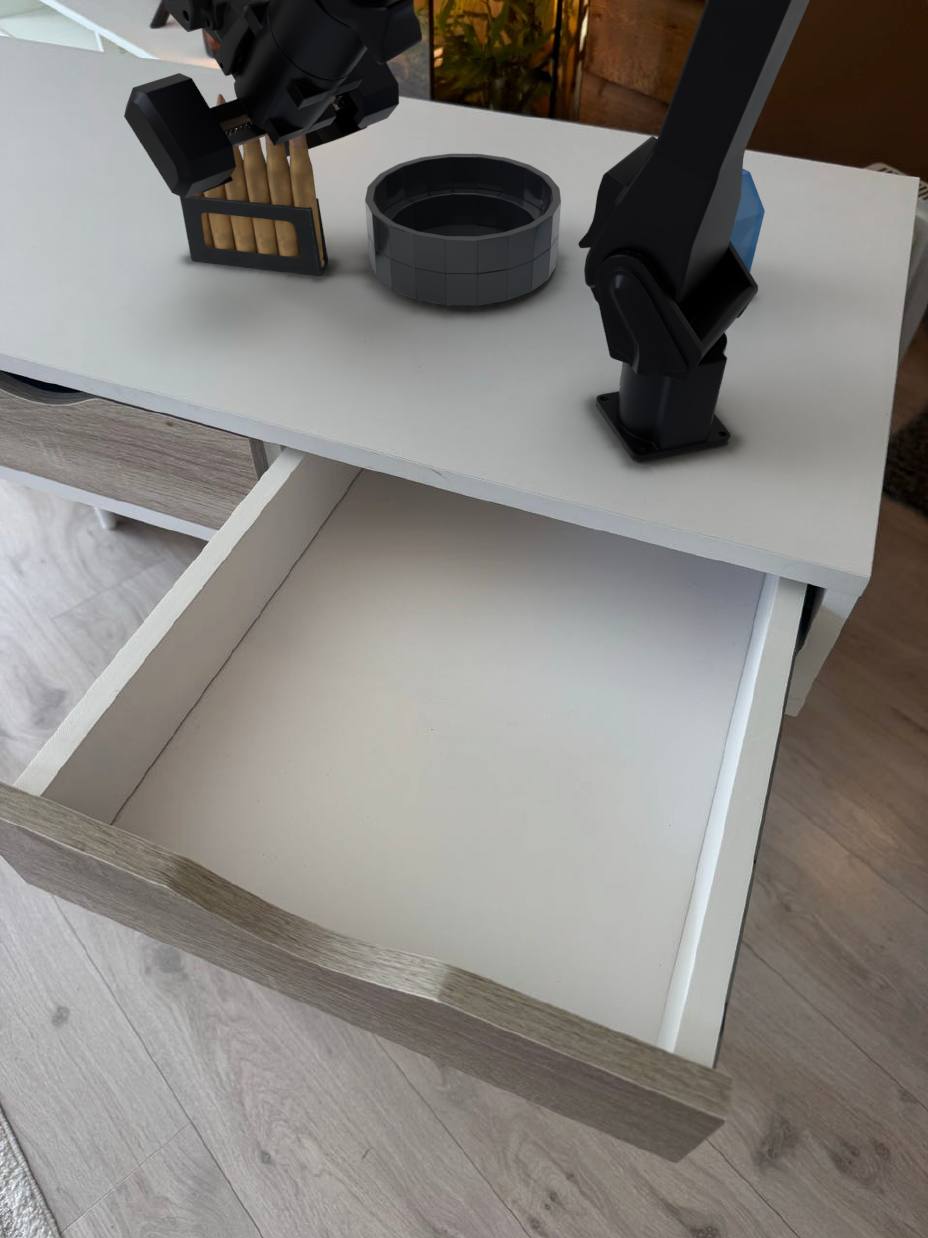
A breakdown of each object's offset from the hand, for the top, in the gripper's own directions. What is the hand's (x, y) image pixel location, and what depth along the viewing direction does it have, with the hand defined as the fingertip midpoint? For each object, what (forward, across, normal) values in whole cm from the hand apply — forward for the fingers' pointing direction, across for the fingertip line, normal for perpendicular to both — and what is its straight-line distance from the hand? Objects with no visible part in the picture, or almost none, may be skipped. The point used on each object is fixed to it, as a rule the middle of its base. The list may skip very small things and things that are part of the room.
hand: (233, 169), depth 68 cm
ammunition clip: (+4, 0, +6) cm, 7 cm away
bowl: (-5, -10, +14) cm, 18 cm away
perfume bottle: (-15, -19, +24) cm, 34 cm away
